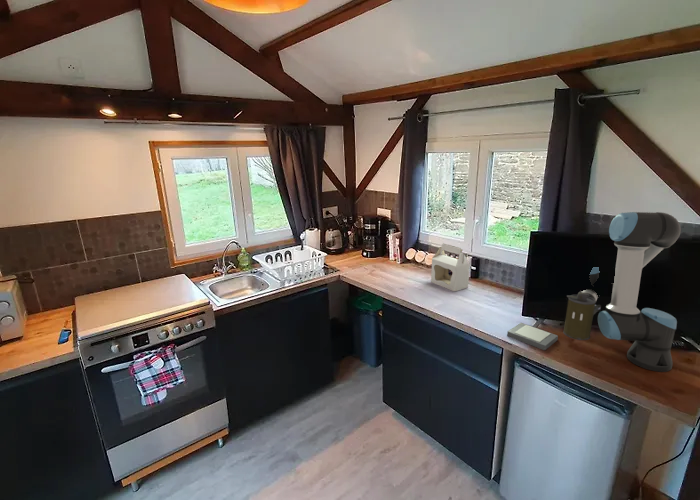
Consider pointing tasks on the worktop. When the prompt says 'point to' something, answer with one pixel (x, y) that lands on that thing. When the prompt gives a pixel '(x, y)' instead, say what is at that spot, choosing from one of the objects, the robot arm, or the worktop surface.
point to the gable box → (457, 267)
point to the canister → (575, 325)
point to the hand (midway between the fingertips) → (577, 316)
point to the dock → (532, 336)
